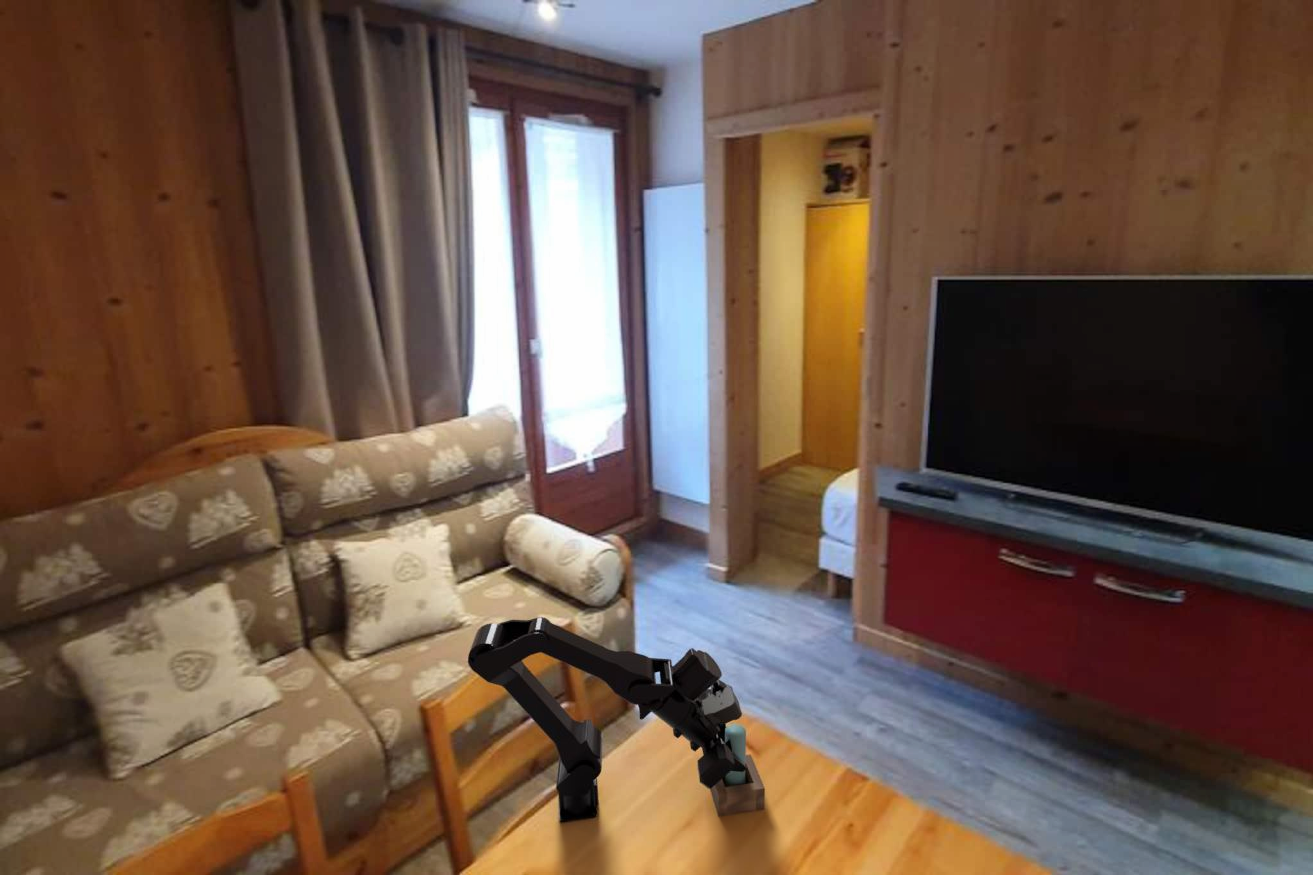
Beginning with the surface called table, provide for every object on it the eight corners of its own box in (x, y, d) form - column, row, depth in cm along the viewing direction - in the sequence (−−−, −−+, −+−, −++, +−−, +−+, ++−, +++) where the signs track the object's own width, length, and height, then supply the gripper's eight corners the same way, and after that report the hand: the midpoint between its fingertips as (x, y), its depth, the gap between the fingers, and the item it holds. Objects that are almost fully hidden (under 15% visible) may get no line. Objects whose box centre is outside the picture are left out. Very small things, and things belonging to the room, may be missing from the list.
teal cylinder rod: (724, 798, 119) (724, 737, 115) (725, 783, 122) (725, 723, 119) (744, 801, 118) (745, 739, 115) (745, 785, 122) (746, 724, 118)
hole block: (718, 816, 116) (718, 795, 115) (707, 780, 124) (707, 760, 123) (764, 809, 117) (764, 788, 116) (750, 774, 125) (750, 754, 124)
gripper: (721, 718, 105) (788, 772, 108) (705, 649, 123) (764, 697, 126) (671, 763, 107) (739, 814, 110) (663, 688, 125) (722, 735, 128)
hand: (742, 761), depth 119 cm, fingers closed on teal cylinder rod, 4 cm apart
